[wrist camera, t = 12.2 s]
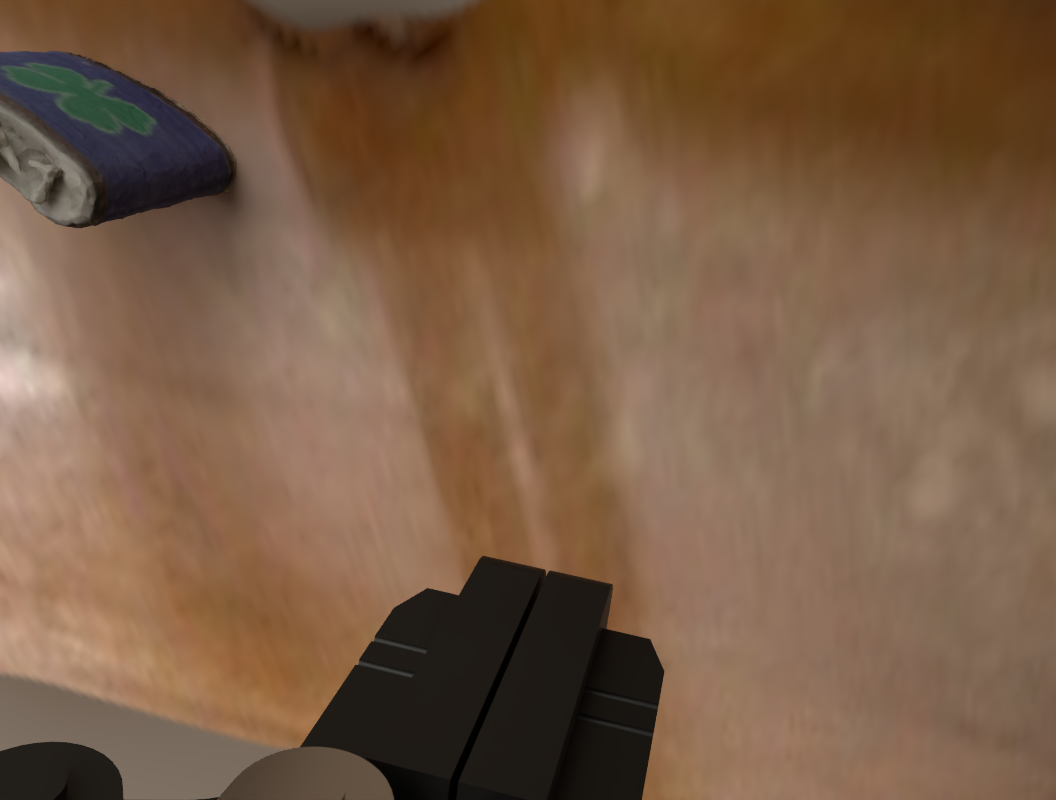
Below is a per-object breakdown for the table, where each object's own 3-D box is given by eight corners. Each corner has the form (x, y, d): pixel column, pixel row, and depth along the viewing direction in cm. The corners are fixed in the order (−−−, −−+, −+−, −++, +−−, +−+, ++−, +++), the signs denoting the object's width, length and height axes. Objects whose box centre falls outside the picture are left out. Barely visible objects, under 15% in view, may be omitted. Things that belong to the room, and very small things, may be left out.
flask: (36, 95, 42) (-194, 101, 32) (58, 28, 41) (-174, 14, 31) (224, 210, 41) (51, 254, 31) (251, 146, 40) (80, 170, 30)
